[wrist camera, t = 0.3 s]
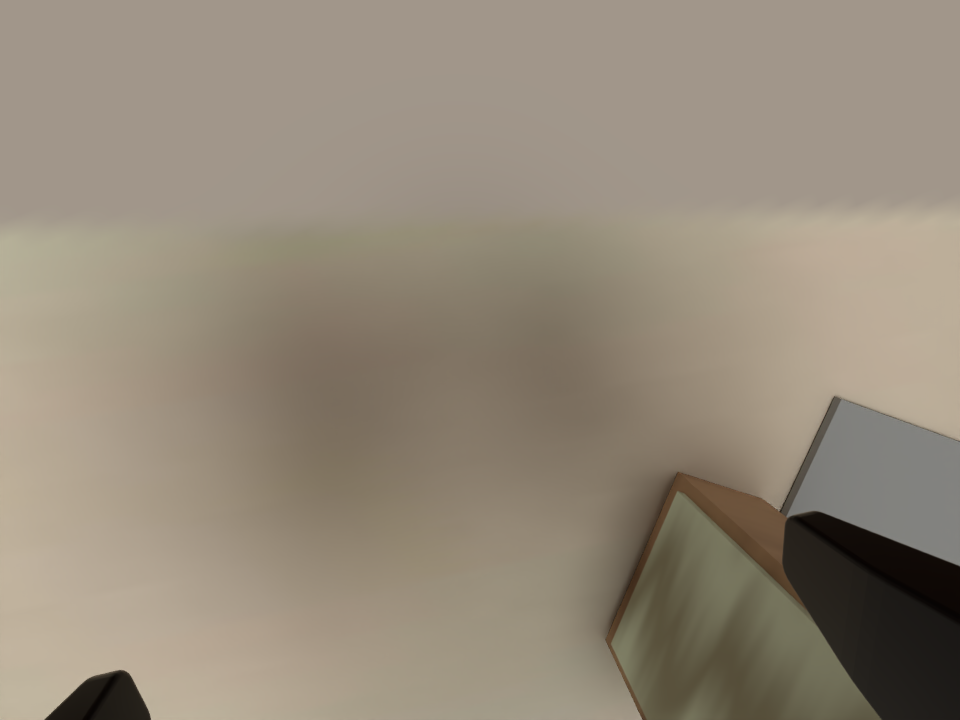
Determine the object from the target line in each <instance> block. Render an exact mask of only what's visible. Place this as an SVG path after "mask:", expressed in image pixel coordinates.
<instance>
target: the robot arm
mask: <svg viewBox="0 0 960 720" xmlns="http://www.w3.org/2000/svg"><path fill="white" fill-rule="evenodd" d="M782 565H783V569H784V573H785V575H786V577H787V579H788V581H789V582H790V584H791V586H792V587H793V589H794V590H795V592H796V594H797V595H798V597H799V598H800V600H801V601H802V603H803V605H804V606H805V608H806V609H807V611H808V613H809V614H810V616H811V617H812V619H813V620H814V622H815V624H816V625H817V627H818V628H819V630H820V632H821V633H822V635H823V636H824V638H825V640H826V641H827V643H828V644H829V646H830V647H831V649H832V651H833V652H834V654H835V655H836V657H837V659H838V660H839V662H840V663H841V665H842V666H843V668H844V669H845V671H846V672H847V674H848V675H849V677H850V678H851V680H852V681H853V683H854V684H855V685H856V687H857V688H858V689H859V691H860V692H861V693H862V695H863V696H864V698H865V699H866V700H867V701H868V703H869V704H870V705H871V707H872V708H873V709H874V711H875V712H876V713H877V715H878V716H879V717H880V718H881V720H960V566H959V565H956V564H954V563H951V562H949V561H946V560H944V559H941V558H938V557H936V556H933V555H931V554H928V553H926V552H923V551H920V550H918V549H915V548H913V547H910V546H908V545H905V544H902V543H900V542H897V541H895V540H892V539H890V538H887V537H884V536H882V535H879V534H877V533H874V532H872V531H869V530H866V529H864V528H861V527H859V526H856V525H854V524H851V523H848V522H846V521H843V520H841V519H838V518H836V517H833V516H830V515H828V514H825V513H823V512H820V511H808V512H804V513H800V514H795V515H792V516H790V517H788V518H787V520H786V522H785V528H784V541H783V553H782ZM45 720H151V718H150V713H149V711H148V709H147V707H146V705H145V703H144V701H143V699H142V697H141V695H140V693H139V691H138V689H137V687H136V685H135V683H134V681H133V679H132V677H131V676H130V674H129V673H127V672H126V671H124V670H118V671H113V672H109V673H105V674H100V675H96V676H93V677H90V678H89V679H87V680H86V681H85V682H83V683H82V684H81V685H80V686H79V687H78V688H77V689H76V690H75V691H74V692H73V693H72V694H71V695H70V696H69V697H68V698H66V699H65V700H64V701H63V702H62V703H61V704H60V705H59V706H58V707H57V708H56V709H55V710H54V711H53V712H52V713H51V714H50V715H49V716H48V717H47V718H46V719H45Z"/></svg>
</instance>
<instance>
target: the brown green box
mask: <svg viewBox="0 0 960 720" xmlns="http://www.w3.org/2000/svg"><path fill="white" fill-rule="evenodd" d="M786 520H787V517H786V516H784V515H783V514H782V513H780V512H779V511H778V510H776V509H775V508H774V507H772V506H771V505H770V504H769V503H767V502H766V501H765V500H763V499H761V498H758V497H755V496H752V495H748V494H745V493H742V492H739V491H736V490H733V489H730V488H727V487H724V486H720V485H717V484H714V483H711V482H708V481H705V480H702V479H699V478H696V477H692V476H689V475H686V474H683V473H680V472H678V473H677V476H676V478H675V480H674V483H673V485H672V487H671V490H670V492H669V494H668V497H667V499H666V501H665V503H664V506H663V508H662V510H661V513H660V515H659V517H658V520H657V522H656V524H655V527H654V529H653V531H652V534H651V536H650V538H649V540H648V543H647V545H646V547H645V550H644V552H643V554H642V557H641V559H640V561H639V564H638V566H637V568H636V571H635V573H634V575H633V577H632V580H631V582H630V584H629V587H628V589H627V591H626V594H625V596H624V598H623V601H622V603H621V605H620V608H619V610H618V612H617V614H616V617H615V619H614V621H613V624H612V626H611V628H610V631H609V633H608V635H607V638H606V642H607V644H608V646H609V649H610V651H611V653H612V655H613V657H614V659H615V661H616V664H617V666H618V668H619V670H620V672H621V674H622V677H623V679H624V681H625V683H626V685H627V687H628V689H629V692H630V694H631V696H632V698H633V700H634V702H635V705H636V707H637V709H638V711H639V713H640V715H641V717H642V720H881V718H880V717H879V716H878V715H877V713H876V712H875V711H874V709H873V708H872V707H871V705H870V704H869V703H868V701H867V700H866V699H865V698H864V696H863V695H862V693H861V692H860V691H859V689H858V688H857V687H856V685H855V684H854V683H853V681H852V680H851V678H850V677H849V675H848V674H847V672H846V671H845V669H844V668H843V666H842V665H841V663H840V662H839V660H838V659H837V657H836V655H835V654H834V652H833V651H832V649H831V647H830V646H829V644H828V643H827V641H826V640H825V638H824V636H823V635H822V633H821V632H820V630H819V628H818V627H817V625H816V624H815V622H814V620H813V619H812V617H811V616H810V614H809V613H808V611H807V609H806V608H805V606H804V605H803V603H802V601H801V600H800V598H799V597H798V595H797V594H796V592H795V590H794V589H793V587H792V586H791V584H790V582H789V581H788V579H787V577H786V575H785V573H784V569H783V565H782V553H783V541H784V528H785V522H786Z"/></svg>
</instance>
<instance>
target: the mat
mask: <svg viewBox="0 0 960 720" xmlns="http://www.w3.org/2000/svg"><path fill="white" fill-rule="evenodd" d="M808 511H820V512H823V513H825V514H828V515H830V516H833V517H836V518H838V519H841V520H843V521H846V522H848V523H851V524H854V525H856V526H859V527H861V528H864V529H866V530H869V531H872V532H874V533H877V534H879V535H882V536H884V537H887V538H890V539H892V540H895V541H897V542H900V543H902V544H905V545H908V546H910V547H913V548H915V549H918V550H920V551H923V552H926V553H928V554H931V555H933V556H936V557H938V558H941V559H944V560H946V561H949V562H951V563H954V564H956V565H959V566H960V442H959V441H956V440H953V439H950V438H948V437H945V436H942V435H939V434H937V433H934V432H931V431H928V430H926V429H923V428H920V427H917V426H914V425H912V424H909V423H906V422H903V421H901V420H898V419H895V418H892V417H890V416H887V415H884V414H881V413H879V412H876V411H873V410H870V409H867V408H865V407H862V406H859V405H856V404H854V403H851V402H848V401H845V400H843V399H840V398H837V397H834V399H833V401H832V404H831V406H830V408H829V410H828V412H827V414H826V416H825V419H824V421H823V423H822V425H821V427H820V429H819V431H818V434H817V436H816V438H815V440H814V442H813V444H812V446H811V449H810V451H809V453H808V455H807V457H806V459H805V461H804V463H803V466H802V468H801V470H800V472H799V474H798V476H797V478H796V481H795V483H794V485H793V487H792V489H791V491H790V493H789V496H788V498H787V500H786V502H785V504H784V506H783V508H782V511H781V513H782V514H783V515H784V516H786V517H787V518H788V517H790V516H792V515H795V514H800V513H804V512H808Z"/></svg>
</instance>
